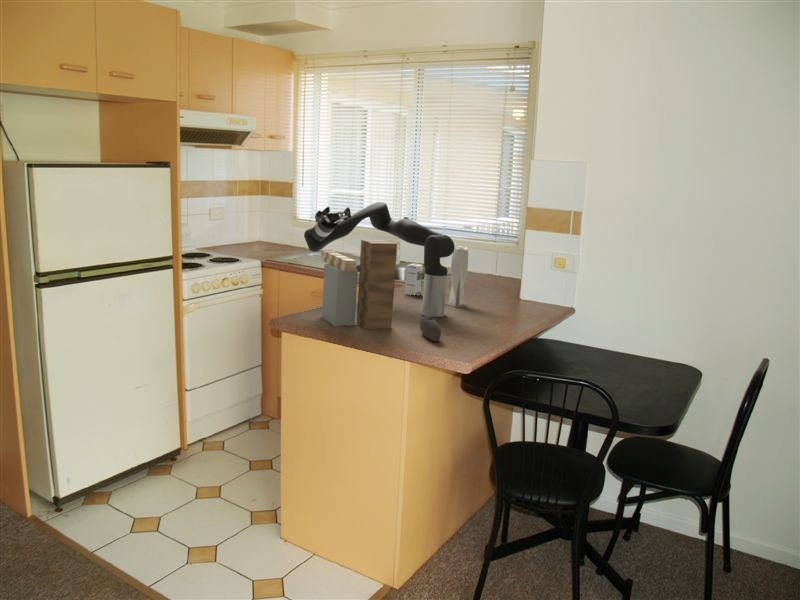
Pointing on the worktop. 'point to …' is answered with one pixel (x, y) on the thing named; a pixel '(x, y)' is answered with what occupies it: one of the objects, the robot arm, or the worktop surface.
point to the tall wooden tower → (376, 283)
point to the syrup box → (414, 279)
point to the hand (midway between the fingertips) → (338, 209)
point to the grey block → (339, 296)
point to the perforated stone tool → (430, 328)
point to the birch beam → (338, 261)
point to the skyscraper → (458, 276)
